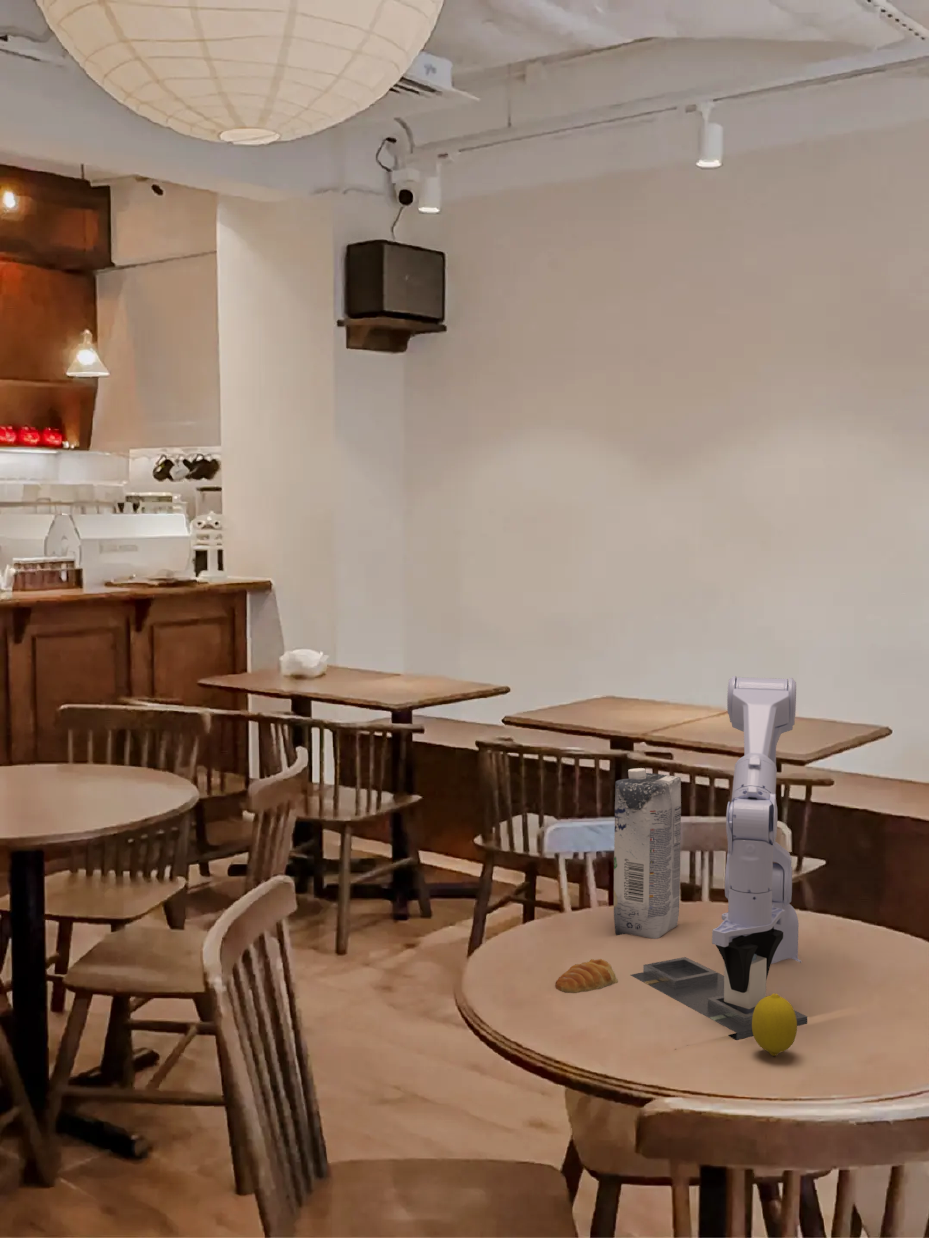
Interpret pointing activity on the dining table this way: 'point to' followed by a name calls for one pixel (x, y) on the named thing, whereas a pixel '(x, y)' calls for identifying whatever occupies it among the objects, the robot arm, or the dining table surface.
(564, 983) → the pastry
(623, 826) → the juice carton
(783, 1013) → the lemon
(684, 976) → the panel
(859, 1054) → the dining table surface
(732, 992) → the plug
